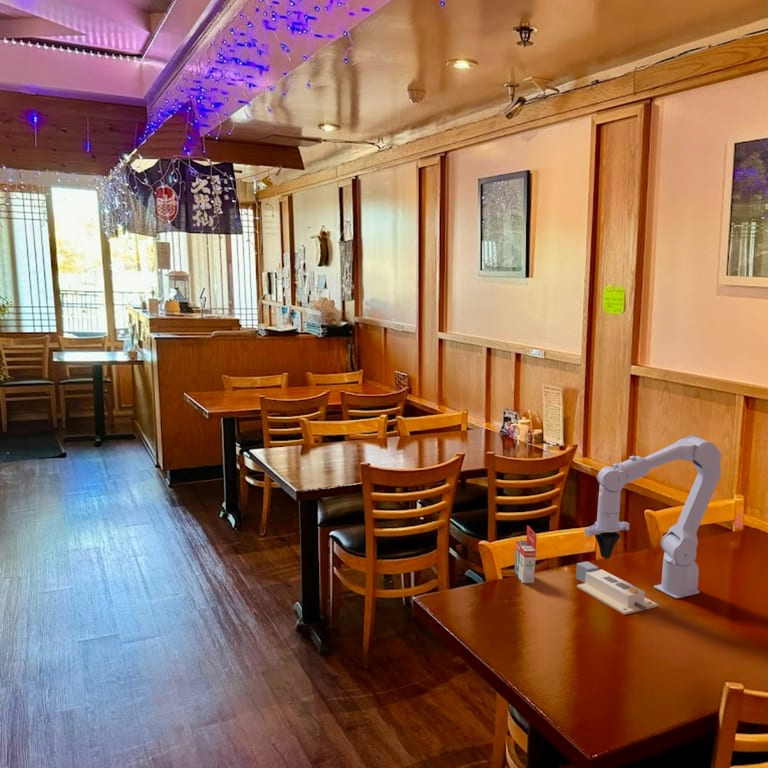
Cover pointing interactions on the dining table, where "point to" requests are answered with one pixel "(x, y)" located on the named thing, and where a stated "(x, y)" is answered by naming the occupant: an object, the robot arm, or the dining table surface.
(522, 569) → the ink box
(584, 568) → the charger plug
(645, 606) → the power strip
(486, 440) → the dining table surface
